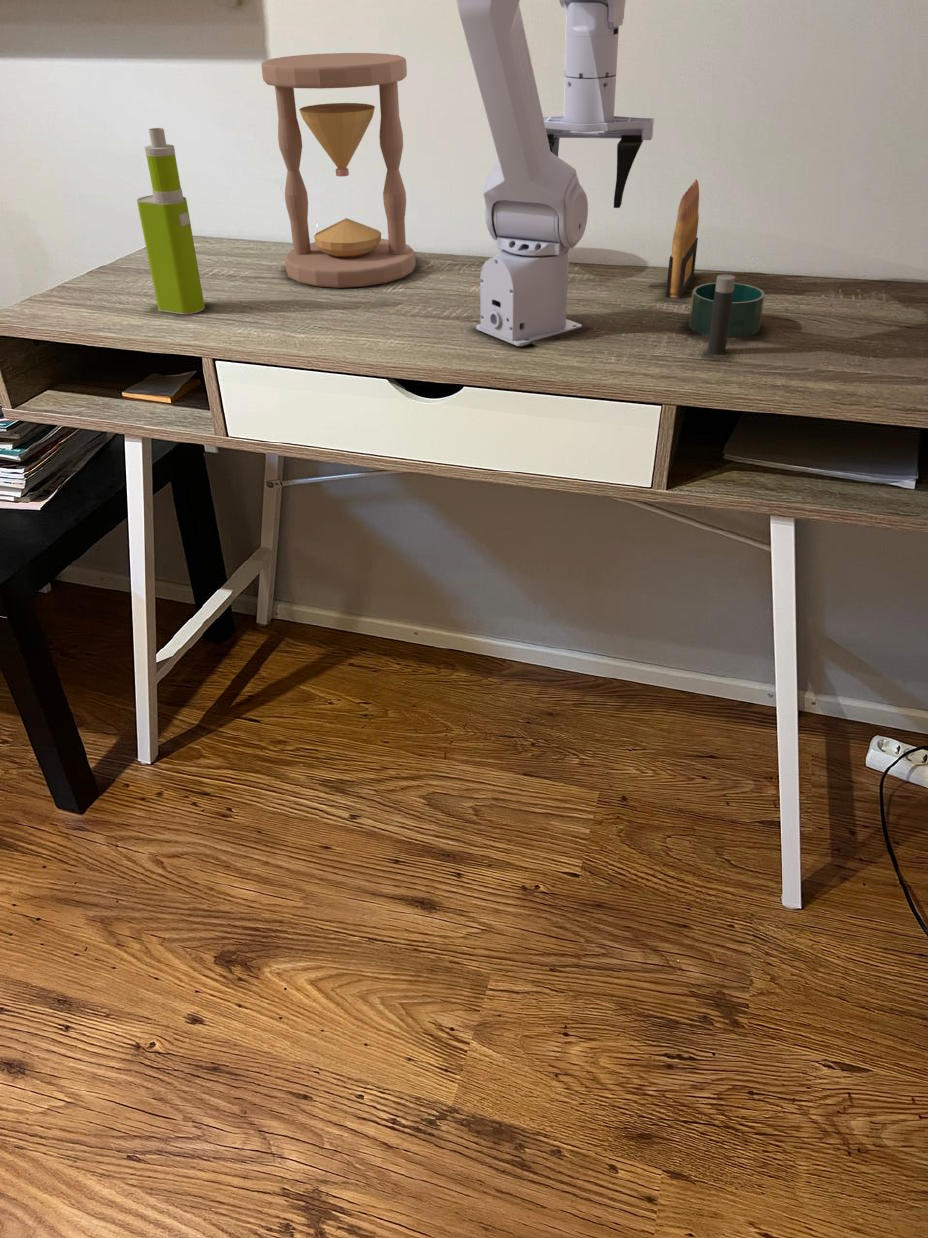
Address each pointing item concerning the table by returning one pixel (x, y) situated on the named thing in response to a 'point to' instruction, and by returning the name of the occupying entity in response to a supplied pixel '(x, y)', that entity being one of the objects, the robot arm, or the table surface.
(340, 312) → the table surface
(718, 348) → the marker
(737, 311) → the pen cup
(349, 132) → the hourglass
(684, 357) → the table surface
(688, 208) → the ammunition clip
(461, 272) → the table surface
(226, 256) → the table surface
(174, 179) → the vape
